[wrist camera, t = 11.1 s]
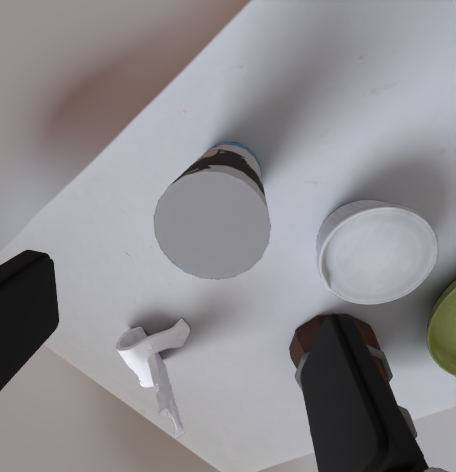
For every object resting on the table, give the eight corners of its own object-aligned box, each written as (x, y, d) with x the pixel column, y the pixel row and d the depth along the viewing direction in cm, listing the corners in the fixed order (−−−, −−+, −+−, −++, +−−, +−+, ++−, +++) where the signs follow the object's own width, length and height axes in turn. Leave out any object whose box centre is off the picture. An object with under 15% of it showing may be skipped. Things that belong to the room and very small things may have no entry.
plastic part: (124, 329, 40) (77, 407, 29) (184, 316, 38) (157, 395, 27) (146, 364, 42) (111, 446, 32) (202, 353, 40) (185, 438, 30)
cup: (217, 128, 27) (184, 145, 13) (272, 163, 28) (295, 212, 14) (188, 184, 29) (136, 246, 16) (239, 214, 30) (232, 296, 17)
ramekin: (307, 196, 29) (319, 212, 24) (416, 184, 28) (451, 199, 23) (308, 280, 34) (318, 308, 29) (401, 274, 32) (428, 302, 27)
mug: (273, 343, 39) (286, 468, 25) (343, 298, 34) (405, 419, 21) (337, 397, 43) (379, 530, 29) (407, 363, 38) (495, 500, 25)
